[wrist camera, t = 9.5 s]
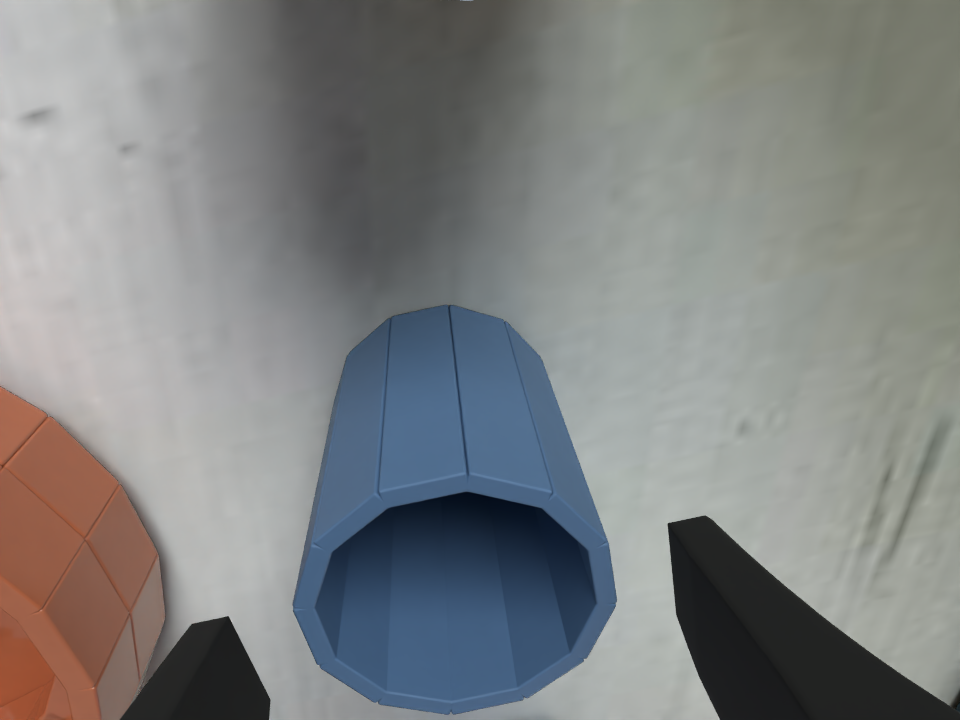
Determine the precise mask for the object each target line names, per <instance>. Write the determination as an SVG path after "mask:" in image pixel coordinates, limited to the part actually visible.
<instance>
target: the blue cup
mask: <svg viewBox="0 0 960 720" xmlns="http://www.w3.org/2000/svg"><path fill="white" fill-rule="evenodd" d="M616 602H617V597H616V590H615V583H614V577H613V570H612V563H611V556H610V549H609V543H608V541H607V538H606V535H605V532H604V530H603V527H602V524H601V521H600V518H599V516H598V513H597V510H596V507H595V505H594V502H593V499H592V496H591V494H590V491H589V488H588V485H587V483H586V480H585V477H584V474H583V472H582V469H581V466H580V463H579V461H578V458H577V455H576V452H575V450H574V447H573V444H572V441H571V439H570V436H569V433H568V430H567V428H566V425H565V422H564V419H563V417H562V414H561V411H560V408H559V406H558V403H557V400H556V397H555V394H554V392H553V389H552V386H551V383H550V381H549V378H548V375H547V372H546V370H545V367H544V364H543V361H542V360H541V358H540V356H539V355H538V354H537V353H536V352H535V351H534V350H533V349H532V348H531V347H530V346H529V345H528V343H527V342H526V341H525V340H524V339H523V338H522V337H521V336H520V335H519V334H518V333H517V332H516V331H515V330H514V329H513V328H512V327H511V326H510V325H509V324H508V323H507V322H506V321H505V322H504V320H503V319H499V318H496V317H492V316H489V315H485V314H482V313H478V312H475V311H471V310H468V309H464V308H460V307H457V306H453V305H450V306H449V308H448V305H443V306H438V307H433V308H429V309H424V310H420V311H415V312H410V313H406V314H401V315H397V316H393V317H392V318H391V319H390V318H388V319H387V320H386V321H385V322H384V323H382V324H381V325H380V326H379V327H378V328H377V329H376V330H374V331H373V332H372V333H371V334H370V335H369V336H368V337H367V338H365V339H364V340H363V341H362V342H361V343H360V344H359V345H357V346H356V347H355V348H354V349H353V350H352V351H351V352H350V353H349V355H348V356H347V358H346V361H345V365H344V368H343V372H342V376H341V379H340V383H339V386H338V390H337V393H336V397H335V400H334V405H333V410H332V414H331V419H330V424H329V429H328V434H327V439H326V444H325V449H324V454H323V458H322V463H321V468H320V473H319V478H318V483H317V488H316V493H315V497H314V502H313V507H312V512H311V517H310V522H309V527H308V532H307V536H306V541H305V546H304V551H303V556H302V561H301V566H300V571H299V576H298V580H297V585H296V590H295V595H294V600H293V612H294V614H295V616H296V618H297V621H298V623H299V625H300V627H301V630H302V632H303V634H304V636H305V639H306V641H307V643H308V645H309V648H310V650H311V652H312V654H313V657H314V659H315V661H316V663H317V665H320V668H321V669H322V670H324V671H326V672H327V673H329V674H330V675H332V676H333V677H335V678H336V679H338V680H340V681H341V682H343V683H344V684H346V685H347V686H349V687H351V688H352V689H354V690H355V691H357V692H358V693H360V694H361V695H363V696H365V697H366V698H368V699H369V700H371V701H372V702H377V701H378V703H379V704H380V705H386V706H393V707H400V708H406V709H413V710H420V711H426V712H433V713H440V714H446V715H448V714H450V712H452V714H459V713H464V712H469V711H473V710H478V709H483V708H488V707H493V706H497V705H502V704H507V703H512V702H517V701H521V700H523V699H524V697H525V698H529V697H530V696H532V695H533V694H535V693H537V692H538V691H540V690H541V689H543V688H544V687H546V686H547V685H549V684H550V683H552V682H553V681H555V680H556V679H558V678H559V677H561V676H563V675H564V674H566V673H567V672H569V671H570V670H572V669H573V668H575V667H576V666H578V665H579V664H581V663H582V662H583V661H584V659H586V658H587V657H588V655H589V653H590V652H591V650H592V648H593V646H594V645H595V643H596V641H597V639H598V637H599V636H600V634H601V632H602V630H603V628H604V627H605V625H606V623H607V621H608V619H609V618H610V616H611V614H612V612H613V610H614V609H615V607H616Z"/></svg>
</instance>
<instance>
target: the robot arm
mask: <svg viewBox="0 0 960 720" xmlns="http://www.w3.org/2000/svg"><path fill="white" fill-rule="evenodd" d="M668 532H669V542H670V553H671V564H672V574H673V585H674V595H675V606H676V615H677V618H678V621H679V623H680V626H681V629H682V632H683V635H684V637H685V640H686V643H687V646H688V648H689V651H690V654H691V656H692V659H693V662H694V664H695V667H696V670H697V672H698V675H699V677H700V679H701V681H702V683H703V686H704V688H705V690H706V692H707V694H708V696H709V698H710V700H711V702H712V704H713V706H714V708H715V710H716V712H717V714H718V716H719V718H720V720H960V712H959V711H957V710H955V709H954V708H952V707H950V706H949V705H947V704H946V703H944V702H942V701H941V700H939V699H938V698H936V697H935V696H933V695H932V694H930V693H929V692H927V691H926V690H924V689H923V688H921V687H919V686H918V685H916V684H915V683H913V682H912V681H910V680H909V679H907V678H906V677H904V676H903V675H901V674H900V673H899V672H897V671H896V670H894V669H893V668H891V667H890V666H888V665H887V664H886V663H884V662H883V661H881V660H880V659H879V658H877V657H876V656H874V655H873V654H872V653H870V652H869V651H867V650H866V649H865V648H863V647H862V646H861V645H859V644H858V643H857V642H855V641H854V640H853V639H851V638H850V637H849V636H847V635H846V634H845V633H843V632H842V631H840V630H839V629H838V628H837V627H835V626H834V625H833V624H831V623H830V622H829V621H828V620H826V619H825V618H824V617H822V616H821V615H820V614H819V613H817V612H816V611H815V610H814V609H813V608H811V607H810V606H809V605H808V604H806V603H805V602H804V601H803V600H802V599H800V598H799V597H798V596H797V595H795V594H794V593H793V592H792V591H791V590H789V589H788V588H787V587H786V586H784V585H783V584H782V583H781V582H780V581H779V580H777V579H776V578H775V577H774V576H773V575H772V574H770V573H769V572H768V571H767V570H766V569H765V568H764V567H763V566H761V565H760V564H759V563H758V562H757V561H756V560H755V559H754V558H752V557H751V556H750V555H749V554H748V553H747V552H746V551H745V550H744V549H743V548H741V547H740V546H739V545H738V544H737V543H736V542H735V541H734V540H733V539H732V538H731V537H730V536H729V535H728V534H726V533H725V532H724V531H723V530H722V529H721V528H720V527H719V526H718V525H717V524H716V523H715V522H714V521H713V520H712V519H710V518H709V517H707V516H700V517H696V518H691V519H686V520H681V521H677V522H672V523H668ZM269 712H270V698H269V696H268V694H267V692H266V690H265V688H264V686H263V684H262V682H261V680H260V678H259V676H258V674H257V672H256V670H255V668H254V666H253V664H252V662H251V660H250V658H249V656H248V654H247V652H246V650H245V648H244V646H243V644H242V642H241V640H240V638H239V636H238V634H237V632H236V630H235V628H234V626H233V624H232V622H231V620H230V618H229V616H227V617H223V618H218V619H213V620H209V621H204V622H199V623H194V624H191V626H190V627H189V628H188V630H187V631H186V632H185V633H184V635H183V636H182V637H181V638H180V640H179V641H178V642H177V644H176V645H175V646H174V648H173V649H172V650H171V652H170V653H169V654H168V656H167V657H166V658H165V660H164V661H163V662H162V664H161V665H160V666H159V668H158V669H157V670H156V672H155V673H154V675H153V676H152V677H151V679H150V680H149V681H148V683H147V684H146V685H145V687H144V688H143V689H142V691H141V692H140V693H139V695H138V696H137V697H136V699H135V700H134V701H133V703H132V704H131V705H130V707H129V708H128V709H127V711H126V712H125V713H124V714H123V716H122V717H121V718H120V720H269Z"/></svg>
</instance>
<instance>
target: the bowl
mask: <svg viewBox="0 0 960 720" xmlns="http://www.w3.org/2000/svg"><path fill="white" fill-rule="evenodd" d="M47 416H48V415H47V414H46V413H45V412H44V411H42V410H40V409H38V408H37V407H35V406H33V405H32V404H30V403H28V402H26V401H25V400H23V399H21V398H19V397H18V396H16V395H14V394H12V393H11V392H9V391H7V390H6V389H4V388H2V387H0V720H120V718H121V717H122V716H123V714H124V713H125V712H126V711H127V709H128V708H129V707H130V705H131V704H132V703H133V701H134V700H135V699H136V697H137V694H138V692H139V689H140V687H141V684H142V682H143V679H144V677H145V674H146V672H147V669H148V666H149V663H150V661H151V658H152V655H153V652H154V650H155V647H156V644H157V641H158V639H159V636H160V633H161V630H162V628H163V625H164V622H165V621H164V619H165V608H164V599H163V590H162V580H161V571H160V562H159V554H157V550H156V548H155V546H154V544H153V542H152V540H151V539H150V537H149V535H148V533H147V531H146V529H145V528H144V526H143V524H142V522H141V520H140V518H139V516H138V515H137V513H136V511H135V509H134V507H133V505H132V504H131V502H130V500H129V498H128V496H127V494H126V492H125V491H124V489H123V487H122V485H120V484H119V482H118V480H117V479H116V478H115V477H114V476H112V475H111V474H110V473H109V472H108V471H107V470H106V469H105V468H104V467H103V466H102V465H101V464H100V463H99V462H98V461H97V460H96V459H95V458H94V457H93V456H92V455H91V454H90V453H89V452H88V451H87V450H86V449H85V448H84V447H83V446H82V445H81V444H80V443H78V442H77V441H76V440H75V439H74V438H73V437H72V436H71V435H70V434H69V433H68V432H67V431H66V430H65V429H64V428H63V427H62V426H61V425H60V424H59V423H58V422H57V421H56V420H55V419H54V418H53V417H51V416H50V417H47Z"/></svg>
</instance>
